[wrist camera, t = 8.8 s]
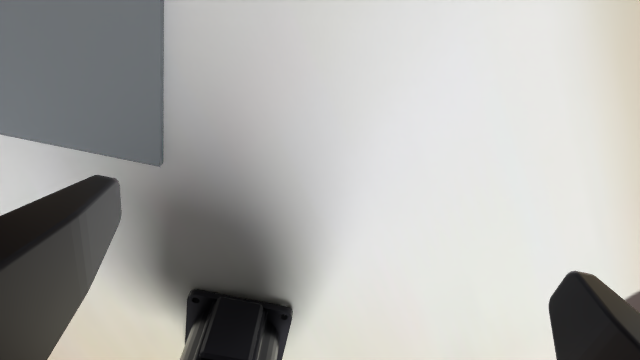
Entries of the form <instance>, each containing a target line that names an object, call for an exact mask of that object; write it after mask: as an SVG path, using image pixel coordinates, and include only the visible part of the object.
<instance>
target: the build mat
mask: <svg viewBox="0 0 640 360" xmlns="http://www.w3.org/2000/svg"><path fill="white" fill-rule="evenodd" d="M163 13H164V0H0V134H1V135H6V136H11V137H16V138H21V139H26V140H31V141H36V142H40V143H45V144H50V145H55V146H60V147H65V148H70V149H75V150H80V151H85V152H90V153H95V154H100V155H105V156H110V157H115V158H120V159H125V160H129V161H134V162H139V163H144V164H149V165H154V166H159V167H160V166H161V165H162V163H163Z"/></svg>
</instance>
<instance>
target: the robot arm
mask: <svg viewBox="0 0 640 360" xmlns="http://www.w3.org/2000/svg"><path fill="white" fill-rule="evenodd" d="M120 219H121V198H120V185H119V182H118V180H116V179H115V178H110V177H105V176H100V175H94V176H92V177H89V178H87V179H85V180H82V181H80V182H78V183H75V184H73V185H71V186H68V187H66V188H64V189H62V190H59V191H57V192H55V193H52V194H50V195H48V196H45V197H43V198H41V199H38V200H36V201H34V202H32V203H29V204H27V205H25V206H22V207H20V208H18V209H15V210H13V211H11V212H8V213H6V214H4V215H2V216H0V360H47V359H48V357H49V356H50V354H51V352H52V351H53V349H54V347H55V346H56V344H57V342H58V341H59V339H60V337H61V336H62V334H63V332H64V331H65V329H66V328H67V326H68V324H69V323H70V321H71V319H72V318H73V316H74V314H75V313H76V311H77V309H78V308H79V306H80V304H81V303H82V301H83V299H84V298H85V296H86V294H87V292H88V290H89V288H90V286H91V284H92V282H93V280H94V278H95V276H96V274H97V271H98V269H99V267H100V265H101V263H102V260H103V258H104V256H105V254H106V252H107V249H108V247H109V245H110V243H111V241H112V238H113V236H114V234H115V232H116V230H117V227H118V225H119V222H120ZM284 314H285V315H284ZM549 314H550V320H551V327H552V333H553V339H554V345H555V352H556V358H557V360H640V313H639V312H638V311H637V310H636V309H634V308H633V307H632V306H631V305H630V304H628V303H627V302H626V301H625V300H623V299H622V298H621V297H620V296H619V295H617V294H616V293H615V292H614V291H613V290H611V289H610V288H609V287H608V286H607V285H605V284H604V283H603V282H602V281H601V280H599V279H598V278H597V277H596V276H594V275H592V274H588V273H583V272H578V271H571V272H570V273H568V274H567V275H566V276H565V278H564V279H563V281H562V282H561V283H560V285H559V286H558V288H557V289H556V290H555V292H554V293H553V295H552V296H551V298H550V301H549ZM292 315H293V311H292V309H290V308H289V307H285V306H280V305H275V304H270V303H264V302H259V301H254V300H249V299H243V298H238V297H233V296H228V295H222V294H217V293H212V292H206V291H201V290H192V291H191V292H190V293H189V296H188V299H187V318H186V338H185V347H184V350H183V353H182V355H181V358H180V360H282V357H283V353H284V349H285V345H286V341H287V337H288V333H289V329H290V325H291V321H292Z"/></svg>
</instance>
